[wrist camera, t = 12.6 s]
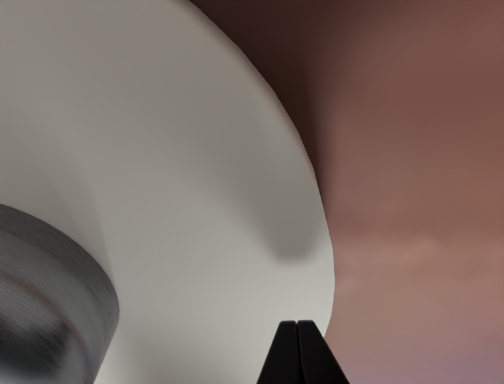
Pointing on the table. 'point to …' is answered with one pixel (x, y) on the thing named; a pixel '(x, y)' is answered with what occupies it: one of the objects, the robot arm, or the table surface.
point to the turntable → (164, 181)
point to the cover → (51, 305)
